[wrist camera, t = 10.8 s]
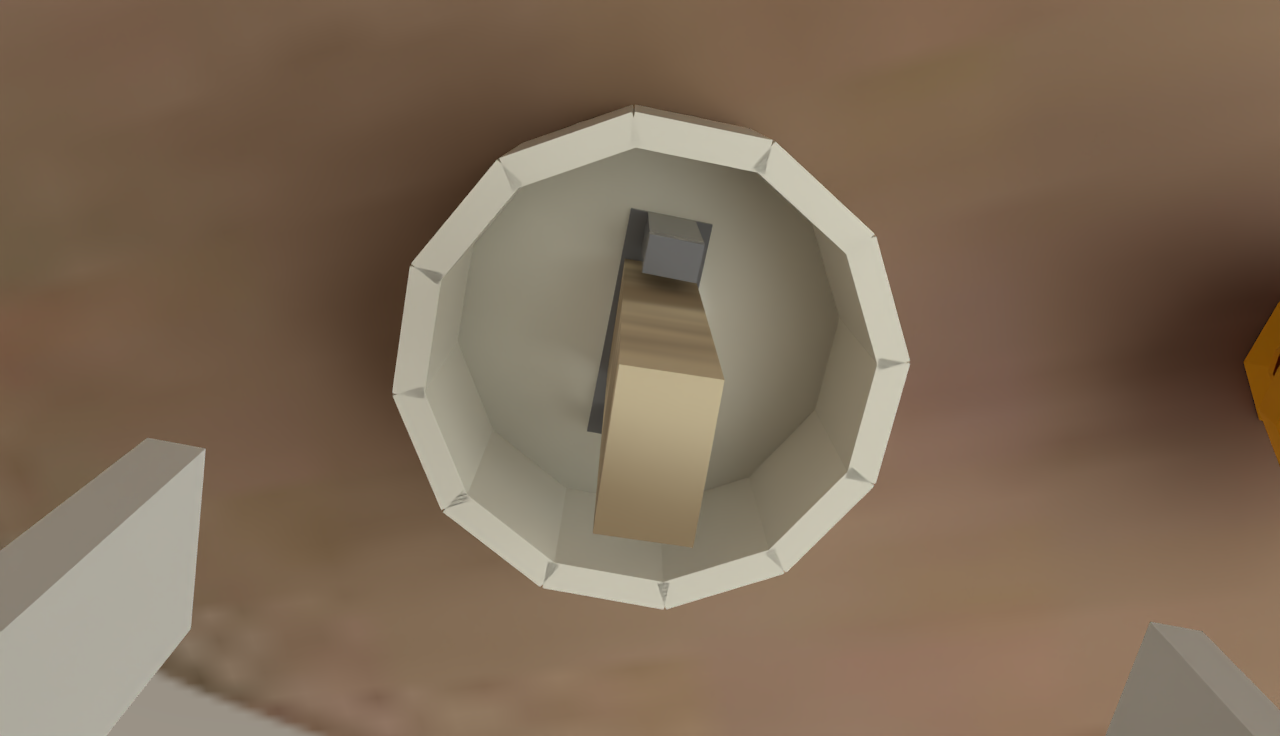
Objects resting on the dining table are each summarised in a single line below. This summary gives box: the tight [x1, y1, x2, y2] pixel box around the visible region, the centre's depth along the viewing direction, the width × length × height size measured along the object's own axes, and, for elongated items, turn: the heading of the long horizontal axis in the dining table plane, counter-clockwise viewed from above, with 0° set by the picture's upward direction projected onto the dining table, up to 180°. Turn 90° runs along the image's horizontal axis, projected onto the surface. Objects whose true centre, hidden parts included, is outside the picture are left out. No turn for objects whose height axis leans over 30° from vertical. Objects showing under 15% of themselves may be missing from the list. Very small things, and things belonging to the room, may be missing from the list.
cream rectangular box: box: [593, 259, 725, 548], centre depth 25 cm, size 4×2×11 cm, turn 171°
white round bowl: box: [392, 105, 910, 609], centre depth 28 cm, size 13×13×6 cm
